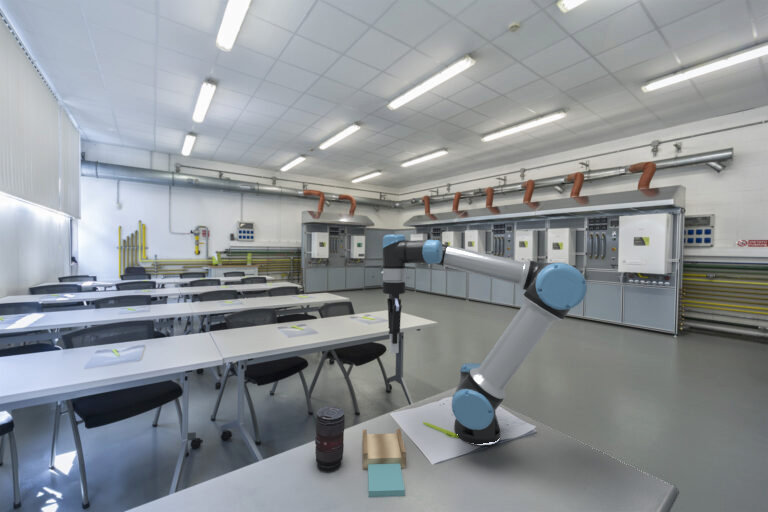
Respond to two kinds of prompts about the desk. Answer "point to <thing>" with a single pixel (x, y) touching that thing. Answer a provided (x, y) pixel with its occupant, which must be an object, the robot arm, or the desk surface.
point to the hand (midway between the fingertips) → (394, 352)
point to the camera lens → (329, 438)
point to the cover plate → (385, 480)
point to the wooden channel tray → (383, 449)
